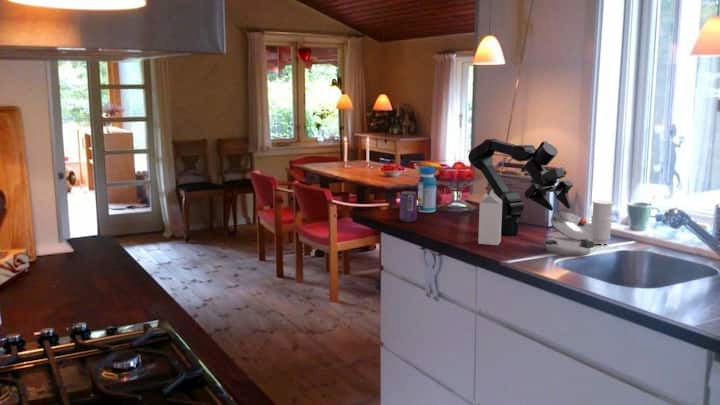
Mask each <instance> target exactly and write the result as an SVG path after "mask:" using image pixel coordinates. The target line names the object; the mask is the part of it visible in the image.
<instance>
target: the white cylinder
mask: <svg viewBox="0 0 720 405" xmlns="http://www.w3.org/2000/svg"><path fill="white" fill-rule="evenodd" d="M613 204H614V202H612V201H610V200H602V199H601V200H599V199H598V200H597V199H596V200H593V201H592V216H590V218H591V220H590V222H591V223H590V226H591V227H592V229H593V235H592V237H591V239H592V240H591V241H593V242H594V244H593V245H596V244H608V243H609V241H608V240H610V239H611V229H612V219H613V218H612V211H613V210H612V208H613ZM608 245H609V244H608Z"/></svg>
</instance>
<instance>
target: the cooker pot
mask: <svg viewBox="0 0 720 405" xmlns="http://www.w3.org/2000/svg"><path fill="white" fill-rule="evenodd" d="M591 239H592V238H590V239H589V240H586V241H579V240H574V239H571V238H569V237H567V236H565V235H563V234H561V233H560V232H559V231H556V232H551V233H548V234H547V238H546V240H544V244H545V245H546V251H547V252H549V253H551V254H555V255H560V256H568V257H583V256H587V255H589V254H590V252H591V251H590V250H591V249H592V248H594V245H595V244H594V242H593V241H592V240H591Z"/></svg>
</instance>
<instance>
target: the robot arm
mask: <svg viewBox="0 0 720 405" xmlns="http://www.w3.org/2000/svg"><path fill="white" fill-rule="evenodd" d="M495 152H498V153H501V154H505V155H507V156H510V157H511V159H512V160H515V161H516V162H518V163H519V162H526V163H525V164H522V165H521V169H520V170H521V171H520V172H521V173H528V175H529V177H530V178H531V180H530V183H531V184H530V185H529V186H528V187H527V188H526V190H524V197H525V199H526V200H530V201H532V202H535V203H536V204H539V205H541V206H542V207H544V208H545V209H547V210H548V211H550V212H553V210H554V207H553V205H552V203H551V202H550V199H549V198H548V196H547V193H554V195H555V198H556V199H557V200H558V201H559V202H560V203H561V204H562V205H563V206H564V207H566V208H567V209H570V208H571V202H570V198H569V191H570V190H571V189H572V187H574V185H573V183H572V181H571V180H561V181H558V180H560V179H562V178H565V177H566V175H567V174H568V173H567V170H566V168H565V167H564V166H559V167H557V168H552V169H550V170H547V169H546V167H547V166H548V165H549V164H550V163H551V162H552V161H553V160H554V159H555V157H557V156H558V154H559V152H558V148H556V147H555V146H554V145H553V144H551V143H549V142H548V141H546V140H544V141H541V143H540V145H539V146H538V147H537V148H536V147H535V145H532V144H518V145H517V144H515V143H510V142H505V141H503V140H499V139H496V138H487V139H484V141H482V143H480V144H478V145H477V146H475V147H474V148H472V149H471V150H470V151H469V153H468V156H467V157H468V161H469V163H470V164H471V165H472V166H473V167H474V168H475V169H477V170H479V171H480V172H481V173H482V174H483V176H484V178H485V179H486V180H487V182H488V183H489V185H490V187H491V190H492V189H493V193H494V194H496V195H497V196H498V197H499V198H500V199H501V200H502V222H501V236H514V237H515V236H516V237H517V234H518V233H519V222H518V220H517V219H518V218H519V219H521V218H522V215H523V212H524V209H525V204H524V202H523V201H524V199H523V198H521V196H520V194H519V192H511V191H510V189H509V188H508V185H506V183H505V182H504V180H503V179H502V177H501V175H500V173H499V172H498V171H497V169H496V168H495V166H494V165H493V156H494V154H495ZM544 166H545V167H544ZM558 182H559V183H558Z"/></svg>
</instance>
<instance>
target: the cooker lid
mask: <svg viewBox="0 0 720 405" xmlns="http://www.w3.org/2000/svg"><path fill="white" fill-rule="evenodd" d="M550 223H551V224H552V225H551V226H553V228H554V229H555V230H556V232H560V233H561V234H563V235H565V236H567V237H569V238H571V239H574V240H579V241H586V240H589V239H590V238H591V237H592V235H593V229H592V227H591V226H592V225H591V224H590V223H588V222H587V220H586V219H585V218H582V217H580V216H578V215H576V214H574V213H571V212H569V211H568V212H567V211H556V212H554V213H553V214H552V216H551V218H550ZM591 239H592V238H591ZM591 239H590V240H591Z"/></svg>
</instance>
